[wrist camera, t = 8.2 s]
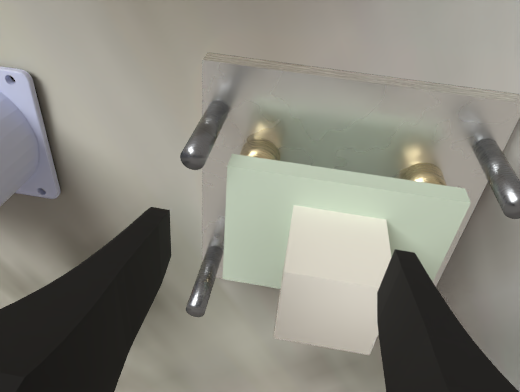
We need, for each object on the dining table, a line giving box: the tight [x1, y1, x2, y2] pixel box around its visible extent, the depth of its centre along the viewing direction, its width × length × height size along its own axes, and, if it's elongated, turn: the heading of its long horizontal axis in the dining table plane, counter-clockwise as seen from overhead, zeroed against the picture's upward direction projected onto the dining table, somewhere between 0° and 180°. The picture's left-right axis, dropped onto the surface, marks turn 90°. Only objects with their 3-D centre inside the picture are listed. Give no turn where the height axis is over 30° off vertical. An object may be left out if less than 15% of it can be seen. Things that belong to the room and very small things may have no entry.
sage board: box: [223, 154, 471, 355], centre depth 18 cm, size 10×7×5 cm
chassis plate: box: [180, 53, 520, 317], centre depth 21 cm, size 14×14×6 cm
